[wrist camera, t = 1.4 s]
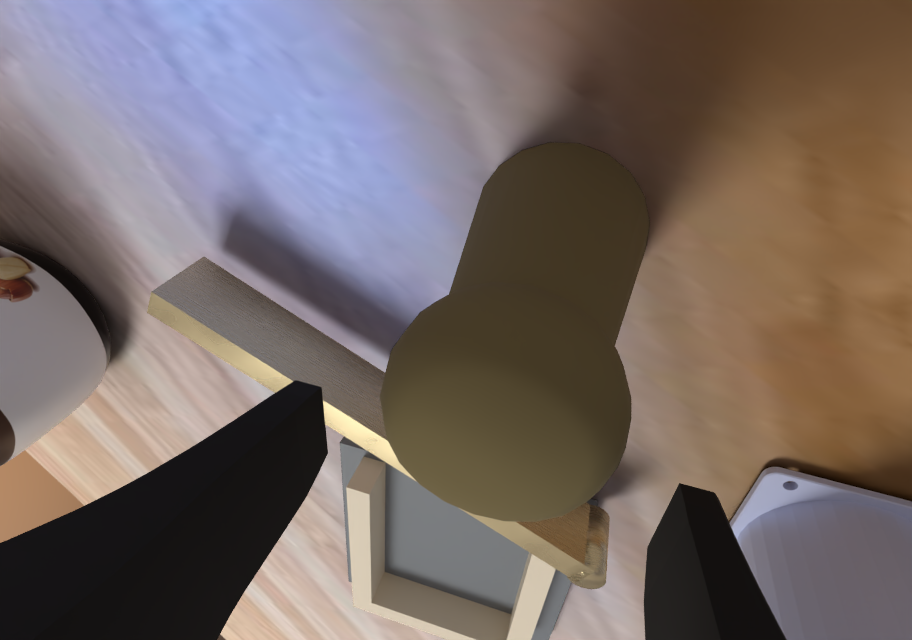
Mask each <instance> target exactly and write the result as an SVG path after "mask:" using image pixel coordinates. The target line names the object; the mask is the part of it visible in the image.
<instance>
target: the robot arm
mask: <svg viewBox="0 0 912 640" xmlns="http://www.w3.org/2000/svg"><path fill="white" fill-rule="evenodd" d="M327 454H328V449H327V439H326V428H325V417H324V407H323V396H322V387H320V386H316V385H312V384H308V383H305V382H301V381H297V380H295V381H293V382H292V383H290V384H288V385H287V386H285V387H284V388H282V389H281V390H279V391H278V392H276V393H275V394H273V395H272V396H270V397H269V398H267V399H266V400H264V401H263V402H261V403H260V404H258V405H257V406H255V407H254V408H252V409H251V410H249V411H247V412H246V413H244V414H243V415H241V416H240V417H238V418H237V419H235V420H234V421H232V422H231V423H229V424H228V425H226V426H225V427H223V428H221V429H220V430H218V431H217V432H215V433H214V434H212V435H210V436H209V437H207V438H206V439H204V440H203V441H201V442H199V443H198V444H196V445H195V446H193V447H191V448H190V449H188V450H186V451H185V452H183V453H181V454H180V455H178V456H176V457H174V458H173V459H171V460H169V461H168V462H166V463H164V464H162V465H161V466H159V467H157V468H156V469H154V470H152V471H151V472H149V473H147V474H145V475H143V476H142V477H140V478H138V479H136V480H134V481H132V482H131V483H129V484H127V485H125V486H123V487H121V488H119V489H117V490H115V491H113V492H111V493H109V494H107V495H105V496H103V497H101V498H99V499H97V500H95V501H93V502H91V503H89V504H87V505H85V506H83V507H81V508H79V509H77V510H75V511H73V512H70V513H68V514H66V515H64V516H61V517H59V518H57V519H55V520H52V521H50V522H48V523H46V524H43V525H41V526H39V527H37V528H34V529H32V530H30V531H27V532H25V533H23V534H20V535H18V536H16V537H14V538H11V539H9V540H7V541H4V542H2V543H0V640H217V639H218V636H219V635H220V633H221V631H222V629H223V627H224V626H225V624H226V622H227V620H228V618H229V616H230V614H231V613H232V611H233V609H234V608H235V606H236V605H237V603H238V601H239V600H240V598H241V596H242V595H243V593H244V591H245V590H246V588H247V587H248V585H249V584H250V582H251V581H252V579H253V578H254V576H255V575H256V573H257V572H258V570H259V569H260V567H261V566H262V564H263V562H264V561H265V559H266V558H267V556H268V555H269V553H270V552H271V550H272V549H273V547H274V546H275V544H276V543H277V541H278V540H279V538H280V537H281V535H282V534H283V532H284V531H285V529H286V528H287V526H288V524H289V523H290V521H291V520H292V518H293V517H294V515H295V514H296V512H297V511H298V509H299V507H300V506H301V504H302V503H303V501H304V500H305V498H306V496H307V494H308V492H309V491H310V489H311V487H312V485H313V483H314V481H315V479H316V477H317V475H318V473H319V471H320V468H321V466H322V464H323V462H324V460H325V458H326V456H327ZM788 481H793V482H790V483H788ZM644 616H645V639H646V640H912V501H908V500H904V499H901V498H897V497H893V496H889V495H885V494H881V493H878V492H874V491H870V490H866V489H862V488H858V487H854V486H851V485H847V484H843V483H839V482H835V481H831V480H827V479H824V478H820V477H816V476H812V475H808V474H804V473H801V472H797V471H793V470H789V469H785V468H781V467H769V468H767V469H765V470H764V471H763V472H762V473H761V474H760V476H759V478H758V479H757V481H756V482H755V484H754V485H753V487H752V489H751V490H750V492H749V493H748V495H747V496H746V498H745V500H744V501H743V503H742V504H741V506H740V507H739V509H738V510H737V512H736V514H735V515H734V517H733V518H732V520H731V521H730V523H729V521H728V519H727V517H726V515H725V512H724V510H723V508H722V506H721V503H720V501H719V499H718V497H717V496H716V494H715V493H714V492H710V491H706V490H703V489H699V488H695V487H692V486H688V485H684V484H680V483H679V485H678V487H677V489H676V491H675V493H674V495H673V497H672V499H671V501H670V503H669V505H668V507H667V509H666V511H665V513H664V515H663V517H662V519H661V521H660V523H659V525H658V527H657V529H656V531H655V533H654V535H653V537H652V539H651V541H650V543H649V545H648V549H647V562H646V575H645V592H644Z"/></svg>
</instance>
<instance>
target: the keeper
mask: <svg viewBox="0 0 912 640" xmlns="http://www.w3.org/2000/svg"><path fill="white" fill-rule="evenodd" d="M147 313H149V314H150V315H152V316H154V317H155V318H157V319H158V320H160V321H162V322H163V323H165V324H166V325H168V326H170V327H171V328H173V329H174V330H176V331H177V332H179V333H181V334H182V335H184V336H185V337H187V338H189V339H190V340H192V341H193V342H195V343H197V344H198V345H200V346H201V347H203V348H205V349H206V350H208V351H209V352H211V353H213V354H214V355H216V356H217V357H219V358H220V359H222V360H224V361H225V362H227V363H228V364H230V365H232V366H233V367H235V368H236V369H238V370H240V371H241V372H243V373H244V374H246V375H248V376H249V377H251V378H252V379H254V380H256V381H257V382H259V383H260V384H262V385H264V386H265V387H267V388H268V389H270V390H271V391H273V392H275V393H276V392H278V391H279V390H281V389H282V388H284V387H285V386H287V385H288V384H290V383H292V382H293V381H295V380H297V381H301V382H305V383H308V384H312V385H316V386H320V387H322V396H323V407H324V417H325V424H326V425H327V426H329V427H330V428H332V429H334V430H335V431H337V432H338V433H340V434H342V435H343V436H345V437H346V438H348V439H350V440H351V441H353V442H354V443H356V444H358V445H359V446H361V447H362V448H364V449H366V450H367V451H369V452H370V453H372V454H373V455H375V456H377V457H378V458H380V459H381V460H383V461H385V462H386V463H388V464H389V465H391V466H393V467H394V468H396V469H397V470H399V471H401V472H402V473H404V474H405V475H407V476H409V477H410V478H412V479H413V480H415V479H414V478H413V477H412V476H411V475H410V474H409V473H408V472H407V471H406V469H405V468H404V467H403V466H402V465H401V464H400V463H399V461H398V459H397V457H396V455H395V453H394V452H393V450H392V448H391V446H390V444H389V442H388V440H387V437H386V431H385V426H384V421H383V414H382V408H381V401H380V393H381V389H382V384H383V380H384V376H385V373H384V372H383V371H381V370H380V369H378V368H377V367H375V366H374V365H372V364H370V363H369V362H367V361H366V360H364V359H363V358H361V357H360V356H358V355H356V354H355V353H353V352H352V351H350V350H349V349H347V348H346V347H344V346H342V345H341V344H339V343H338V342H336V341H335V340H333V339H332V338H330V337H328V336H327V335H325V334H324V333H322V332H321V331H319V330H318V329H316V328H314V327H313V326H311V325H310V324H308V323H307V322H305V321H304V320H302V319H300V318H299V317H297V316H296V315H294V314H293V313H291V312H290V311H288V310H286V309H285V308H283V307H282V306H280V305H279V304H277V303H276V302H274V301H272V300H271V299H269V298H268V297H266V296H265V295H263V294H262V293H260V292H258V291H257V290H255V289H254V288H252V287H251V286H249V285H248V284H246V283H244V282H243V281H241V280H240V279H238V278H237V277H235V276H234V275H232V274H230V273H229V272H227V271H226V270H224V269H223V268H221V267H220V266H218V265H216V264H215V263H213V262H212V261H210V260H209V259H207V258H206V257H202V258H201V259H199V260H198V261H196V262H195V263H194V264H192V265H191V266H189V267H188V268H186V269H185V270H183V271H182V272H180V273H179V274H177V275H176V276H174V277H173V278H171V279H170V280H168V281H167V282H165V283H164V284H162V285H161V286H159V287H158V288H156V289H155V290H153V291H152V292H151V296H150V301H149V306H148V311H147ZM415 481H416V480H415ZM416 482H417V481H416ZM461 510H463V509H461ZM463 511H464V512H466V513H467V514H469V515H471V516H472V517H474V518H475V519H477V520H479V521H480V522H482V523H483V524H485V525H487V526H488V527H490V528H491V529H493V530H495V531H496V532H498V533H499V534H501V535H503V536H504V537H506V538H507V539H509V540H511V541H512V542H514V543H515V544H517V545H518V546H520V547H522V548H523V549H525V550H526V551H528V552H530V553H531V554H533V555H534V556H536V557H538V558H539V559H541V560H542V561H544V562H546V563H547V564H549V565H550V566H552V567H554V568H555V569H557V570H558V571H560V572H562V573H563V574H565V575H566V576H567V578H568V579H569V580H570V581H571V582H572V583H574V584H575V585H577V586H580V587H582V588H587V589H597V588H600V587H602V586H604V585H605V583H606V571H607V554H608V537H609V521H610V518H609V515H608V513H607V512H606V511H605V510H603V509H602V508H600V507H597V506H594V505H590V504H588V503H587V502H586V503H584V504H582V505H581V506H579V507H577V508H576V509H574V510H572V511H571V512H569V513H567V514H565V515H564V516H559V517H555V518H550V519H546V520H542V521H537V522H513V521H501V520H496V519H492V518H488V517H483V516H479V515H474V514H472V513H469V512H467V511H465V510H463Z"/></svg>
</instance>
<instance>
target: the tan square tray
mask: <svg viewBox="0 0 912 640" xmlns="http://www.w3.org/2000/svg"><path fill="white" fill-rule="evenodd" d="M340 452H341V468H342V483H343V499H344V514H345V530H346V545H347V561H348V576H349V581H350V582H352V594H353V607H356V608H359V609H362V610H364V611H367V612H370V613H373V614H376V615H379V616H381V617H384V618H387V619H390V620H393V621H396V622H398V623H401V624H404V625H407V626H410V627H413V628H415V629H418V630H421V631H424V632H427V633H429V634H432V635H435V636H438V637H441V638H444V639H446V640H549V638H550V635H551V633H552V630H553V628H554V625H555V623H556V620H557V618H558V615H559V612H560V610H561V607H562V605H563V602H564V600H565V597H566V595H567V592H568V589H569V587H570V584H571V581H570V580H569V579H568V578H567V576H566V575H565V574H563V573H562V572H560V571H558V570H557V569H555V568H554V567H552V566H550V565H549V564H547V563H546V562H544V561H542V560H541V559H539V558H538V557H536V556H534V555H533V554H531V553H530V552H528V551H526V550H525V549H523V548H522V547H520V546H518V545H517V544H515V543H514V542H512V541H511V540H509V539H507V538H506V537H504V536H503V535H501V534H499V533H498V532H496V531H495V530H493V529H491V528H490V527H488V526H487V525H485V524H483V523H482V522H480V521H479V520H477V519H475V518H474V517H472V516H471V515H469V514H467V513H466V512H464V511H463V510H461V509H460V508H458V507H456V506H453V505H451V504H449V503H446V502H444V501H443V500H441V499H440V498H439V497H437V496H436V495H434V494H433V493H431V492H430V491H428V490H427V489H425V488H424V487H423V486H421V485H420V484H419V483H418V482H416V481H415V480H413V479H412V478H410V477H409V476H407V475H405V474H404V473H402V472H401V471H399V470H397V469H396V468H394V467H393V466H391V465H389V464H388V463H386V462H385V461H383V460H381V459H380V458H378V457H377V456H375V455H373V454H372V453H370V452H369V451H367V450H366V449H364V448H362V447H361V446H359V445H358V444H356V443H354V442H353V441H351V440H350V439H348V438H346V437H345V436H344V437H343V439H342V440H341V442H340ZM587 503H588V504H590V505H594V506H597V505H598V501H597V500H593V499H590V500H588V501H587Z"/></svg>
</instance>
